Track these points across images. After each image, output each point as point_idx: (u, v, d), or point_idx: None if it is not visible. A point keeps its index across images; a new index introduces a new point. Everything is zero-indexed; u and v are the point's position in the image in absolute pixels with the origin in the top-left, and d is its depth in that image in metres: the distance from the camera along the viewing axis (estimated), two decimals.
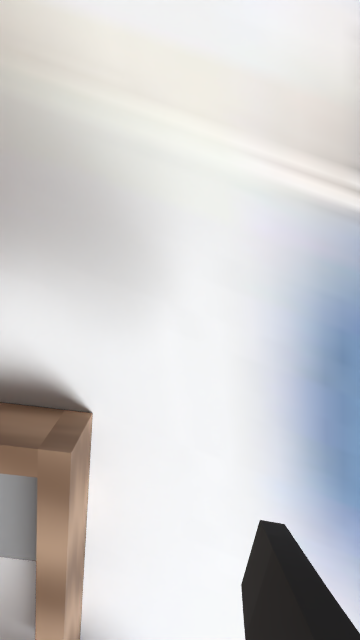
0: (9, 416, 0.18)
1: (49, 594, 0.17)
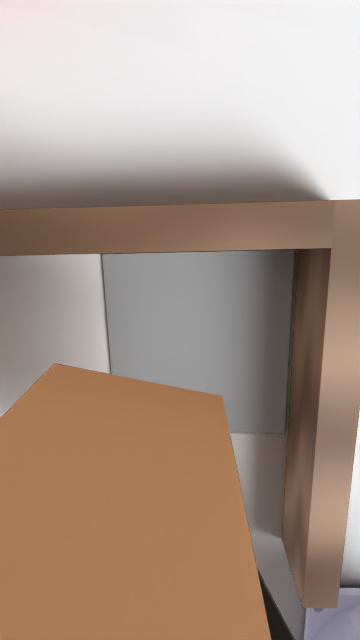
0: None
1: (335, 432, 0.13)
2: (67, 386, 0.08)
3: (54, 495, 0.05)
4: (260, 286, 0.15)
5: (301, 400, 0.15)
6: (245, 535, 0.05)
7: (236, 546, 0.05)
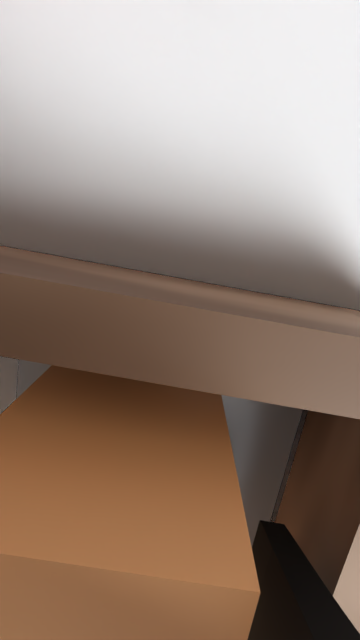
0: (260, 299, 0.08)
1: None
2: (74, 374, 0.09)
3: (67, 458, 0.06)
4: (255, 406, 0.10)
5: None
6: (235, 489, 0.06)
7: (227, 496, 0.05)
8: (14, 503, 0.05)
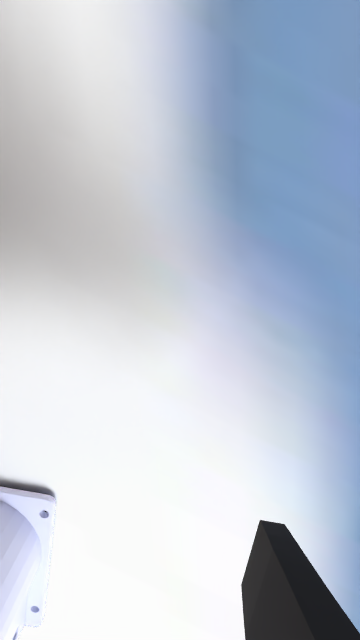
0: None
1: None
2: None
3: None
4: None
5: None
6: None
7: None
8: None
